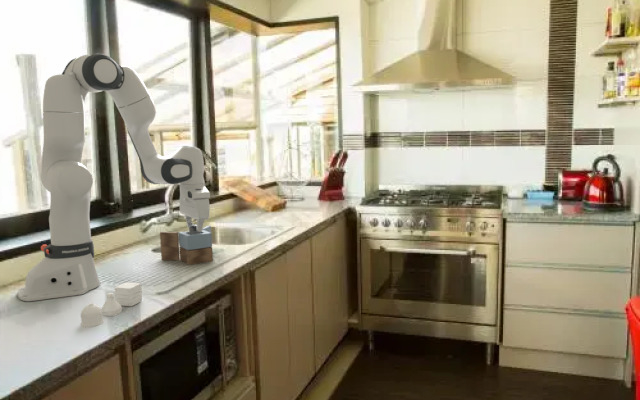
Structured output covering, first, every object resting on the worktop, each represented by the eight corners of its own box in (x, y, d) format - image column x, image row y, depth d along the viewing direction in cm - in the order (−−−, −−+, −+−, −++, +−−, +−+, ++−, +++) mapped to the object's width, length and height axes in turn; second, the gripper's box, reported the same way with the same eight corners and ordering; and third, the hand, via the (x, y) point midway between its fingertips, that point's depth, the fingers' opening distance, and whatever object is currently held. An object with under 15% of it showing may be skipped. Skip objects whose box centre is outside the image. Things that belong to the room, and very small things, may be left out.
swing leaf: (188, 263, 184) (187, 236, 182) (175, 256, 195) (173, 230, 194) (226, 257, 192) (225, 231, 190) (211, 250, 203) (209, 225, 202)
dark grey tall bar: (193, 262, 187) (191, 226, 185) (189, 260, 190) (187, 225, 189) (203, 260, 189) (202, 225, 188) (199, 258, 193) (197, 224, 191)
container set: (126, 300, 147) (125, 281, 146) (142, 302, 146) (141, 283, 145) (76, 327, 128) (74, 305, 127) (94, 328, 127) (92, 307, 126)
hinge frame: (174, 267, 181) (172, 238, 179) (160, 259, 192) (159, 232, 191) (212, 260, 189) (211, 233, 187) (198, 253, 200) (196, 227, 199)
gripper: (174, 189, 193) (176, 226, 195) (194, 194, 176) (196, 234, 178) (190, 188, 197) (192, 224, 199) (212, 193, 180) (213, 232, 182)
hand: (194, 229), depth 188 cm, fingers open, 8 cm apart
